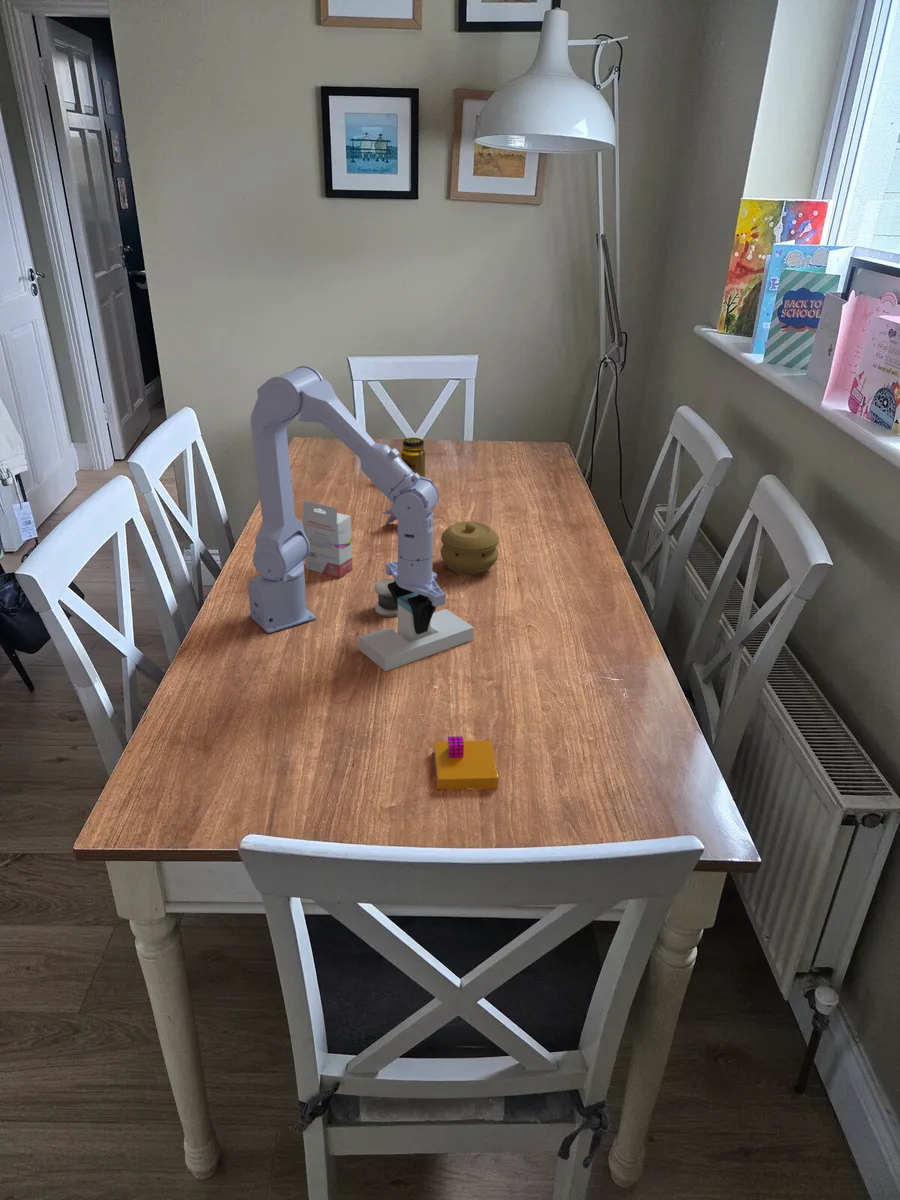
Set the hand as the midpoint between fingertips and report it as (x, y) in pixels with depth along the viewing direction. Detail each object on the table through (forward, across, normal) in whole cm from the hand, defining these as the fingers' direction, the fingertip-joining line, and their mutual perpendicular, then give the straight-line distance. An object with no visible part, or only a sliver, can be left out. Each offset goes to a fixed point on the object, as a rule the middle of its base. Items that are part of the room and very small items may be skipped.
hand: (414, 626), depth 137 cm
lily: (+3, +42, -28) cm, 50 cm away
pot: (+3, +18, -26) cm, 32 cm away
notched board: (+3, -1, 0) cm, 3 cm away
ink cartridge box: (+3, +33, -2) cm, 33 cm away
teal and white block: (+2, 0, 0) cm, 2 cm away
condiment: (+3, +65, -45) cm, 79 cm away
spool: (+3, +12, -3) cm, 13 cm away
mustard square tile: (+4, -31, +13) cm, 34 cm away
